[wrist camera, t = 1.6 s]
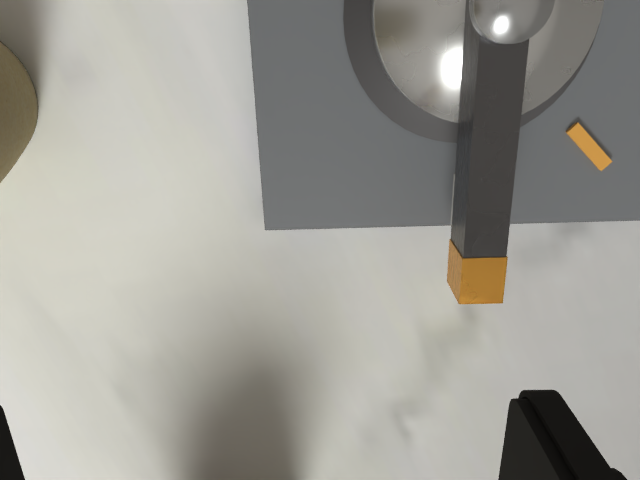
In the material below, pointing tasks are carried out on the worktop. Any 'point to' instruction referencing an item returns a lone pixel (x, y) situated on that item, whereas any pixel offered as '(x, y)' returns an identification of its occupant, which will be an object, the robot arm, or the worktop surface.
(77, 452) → the worktop surface
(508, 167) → the dial
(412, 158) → the panel
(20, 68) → the plant pot
